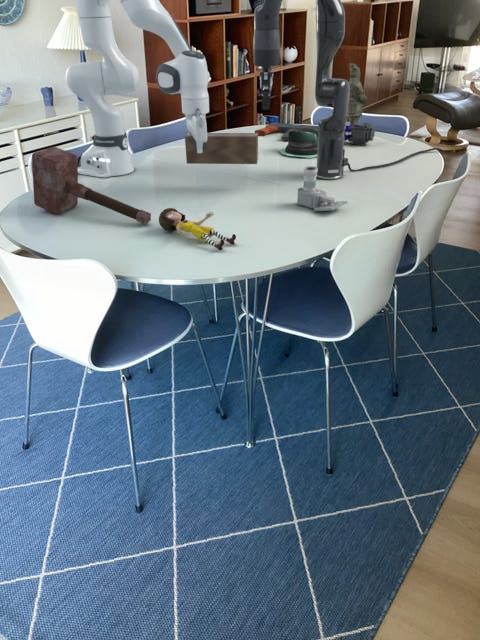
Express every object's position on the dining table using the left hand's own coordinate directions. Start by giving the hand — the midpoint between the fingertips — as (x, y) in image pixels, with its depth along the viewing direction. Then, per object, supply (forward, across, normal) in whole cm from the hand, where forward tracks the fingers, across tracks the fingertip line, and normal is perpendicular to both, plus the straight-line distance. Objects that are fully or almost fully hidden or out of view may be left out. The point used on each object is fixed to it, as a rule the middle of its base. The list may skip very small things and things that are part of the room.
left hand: (197, 150), depth 187 cm
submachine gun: (+15, +71, -56) cm, 91 cm away
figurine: (+13, -44, +9) cm, 47 cm away
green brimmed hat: (+14, +38, -51) cm, 65 cm away
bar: (+4, -3, -8) cm, 9 cm away
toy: (+14, +45, -78) cm, 91 cm away
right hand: (-16, -18, -19) cm, 30 cm away
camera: (+13, -30, -33) cm, 47 cm away
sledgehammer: (+13, -18, +36) cm, 42 cm away
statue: (+14, +70, -88) cm, 114 cm away
